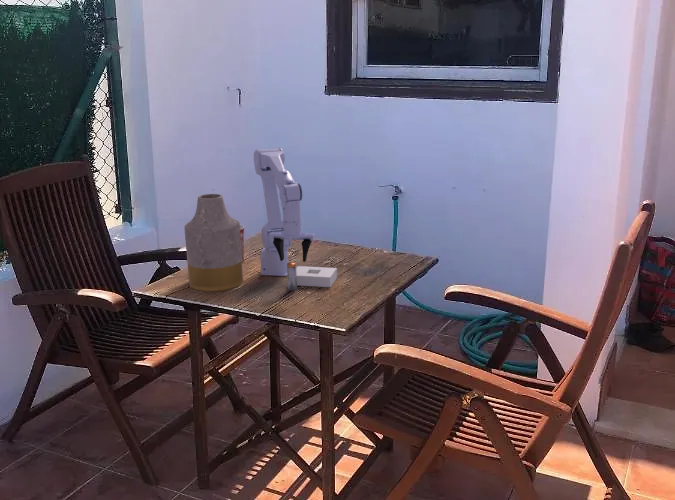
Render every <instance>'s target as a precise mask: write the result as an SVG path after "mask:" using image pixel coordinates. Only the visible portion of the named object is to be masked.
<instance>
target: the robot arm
mask: <svg viewBox="0 0 675 500" xmlns="http://www.w3.org/2000/svg"><path fill="white" fill-rule="evenodd" d="M285 159H286V158H285V151H284V150H283V148H282V147H278V148H277V147H275V148H265V149H255V150H254V152H253V164H254V170H255V174H256V175H258V176H260V179H261V183H262V188H263V194H264V195H263V196H264V203H265V208H266V209H265V210H266V216H267V222H266V224H264V225H263V227H262V228H261V244H262V247H263V248H261V251H260V256H259V257H260V276H261V275H262V276H273V277H274V276H278V277H287V276H288V274H287V263H289V252H288V249H290V247H291V246H292V244H293V240H295V241H296V240H297V241H298V240H299V241H301V240H302V242H301V248H302V249H301V250H302V262H304V263H306V261H307V258H308V252H309V250H310V247H311V244H312V242H314V241H315V239H316V238H315V236H316V234H315V233H311V232H310V233H309V232H304V231H302V221H301V219H302V218H301V201H302V199H303V189H302V185H301V183H300V182H297V181H295V180H294V177H293V176H292V174H291V172H290V171H288V170H287V169H285V166H284V164H285ZM277 188H278V189H277ZM278 191H279V196H278ZM279 199H280V201H279ZM280 206H281V208H282V214H281V208H280Z"/></svg>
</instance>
